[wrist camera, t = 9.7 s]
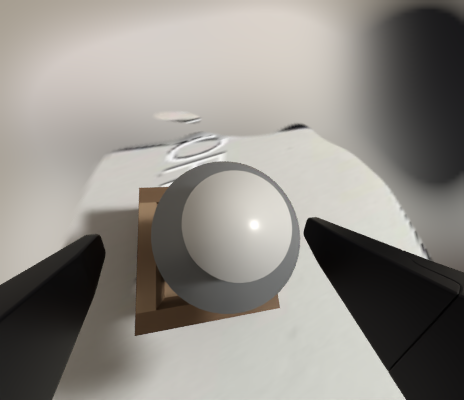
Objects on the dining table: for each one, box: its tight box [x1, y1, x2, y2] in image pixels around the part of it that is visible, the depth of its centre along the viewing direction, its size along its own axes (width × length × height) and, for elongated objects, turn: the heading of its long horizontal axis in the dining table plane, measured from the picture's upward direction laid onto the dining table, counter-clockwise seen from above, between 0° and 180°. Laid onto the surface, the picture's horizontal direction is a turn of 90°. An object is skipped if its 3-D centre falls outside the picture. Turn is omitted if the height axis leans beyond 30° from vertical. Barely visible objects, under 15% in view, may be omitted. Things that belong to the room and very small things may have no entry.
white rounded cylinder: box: [151, 162, 300, 314], centre depth 10 cm, size 4×4×12 cm
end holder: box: [135, 187, 280, 336], centre depth 15 cm, size 8×8×5 cm
